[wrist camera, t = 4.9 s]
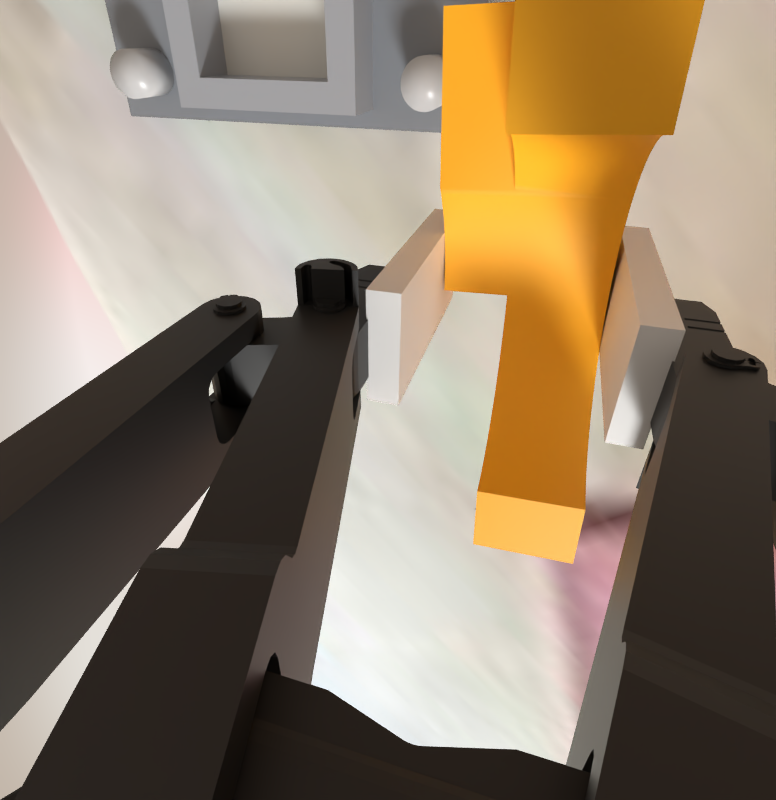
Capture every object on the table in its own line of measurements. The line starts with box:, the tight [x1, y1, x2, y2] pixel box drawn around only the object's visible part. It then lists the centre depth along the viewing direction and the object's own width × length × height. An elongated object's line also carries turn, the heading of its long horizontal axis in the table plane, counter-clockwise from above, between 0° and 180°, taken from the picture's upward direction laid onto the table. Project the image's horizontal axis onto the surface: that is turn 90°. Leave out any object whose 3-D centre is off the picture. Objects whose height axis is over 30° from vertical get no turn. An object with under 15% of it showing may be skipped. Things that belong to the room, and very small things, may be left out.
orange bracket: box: [440, 0, 705, 564], centre depth 14 cm, size 12×4×6 cm, turn 2°
